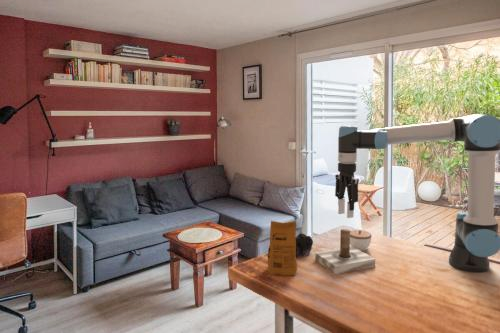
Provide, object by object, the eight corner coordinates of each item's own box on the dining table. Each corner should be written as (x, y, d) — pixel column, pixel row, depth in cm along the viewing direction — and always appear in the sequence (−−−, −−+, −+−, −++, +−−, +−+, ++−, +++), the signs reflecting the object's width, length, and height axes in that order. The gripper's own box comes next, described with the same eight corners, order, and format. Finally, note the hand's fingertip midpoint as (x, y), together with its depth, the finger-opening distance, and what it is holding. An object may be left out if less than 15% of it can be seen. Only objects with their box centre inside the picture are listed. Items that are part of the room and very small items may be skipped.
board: (375, 266, 161) (375, 258, 160) (335, 274, 154) (335, 266, 153) (352, 253, 175) (352, 246, 175) (315, 260, 168) (315, 252, 168)
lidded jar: (374, 252, 176) (374, 233, 175) (351, 252, 176) (351, 233, 175) (367, 244, 187) (367, 226, 185) (345, 244, 187) (346, 226, 186)
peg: (351, 264, 163) (352, 231, 161) (343, 265, 162) (344, 232, 160) (345, 260, 167) (346, 228, 165) (337, 262, 166) (338, 229, 163)
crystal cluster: (277, 254, 177) (278, 235, 175) (292, 244, 187) (293, 226, 185) (302, 263, 169) (303, 243, 167) (316, 252, 179) (317, 233, 177)
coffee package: (268, 265, 163) (268, 217, 160) (297, 267, 161) (297, 218, 158) (266, 275, 153) (265, 224, 150) (296, 277, 151) (297, 225, 148)
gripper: (327, 160, 165) (326, 211, 169) (353, 165, 148) (351, 222, 151) (341, 159, 168) (340, 209, 171) (368, 164, 150) (366, 220, 154)
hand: (345, 215), depth 161 cm, fingers open, 6 cm apart
